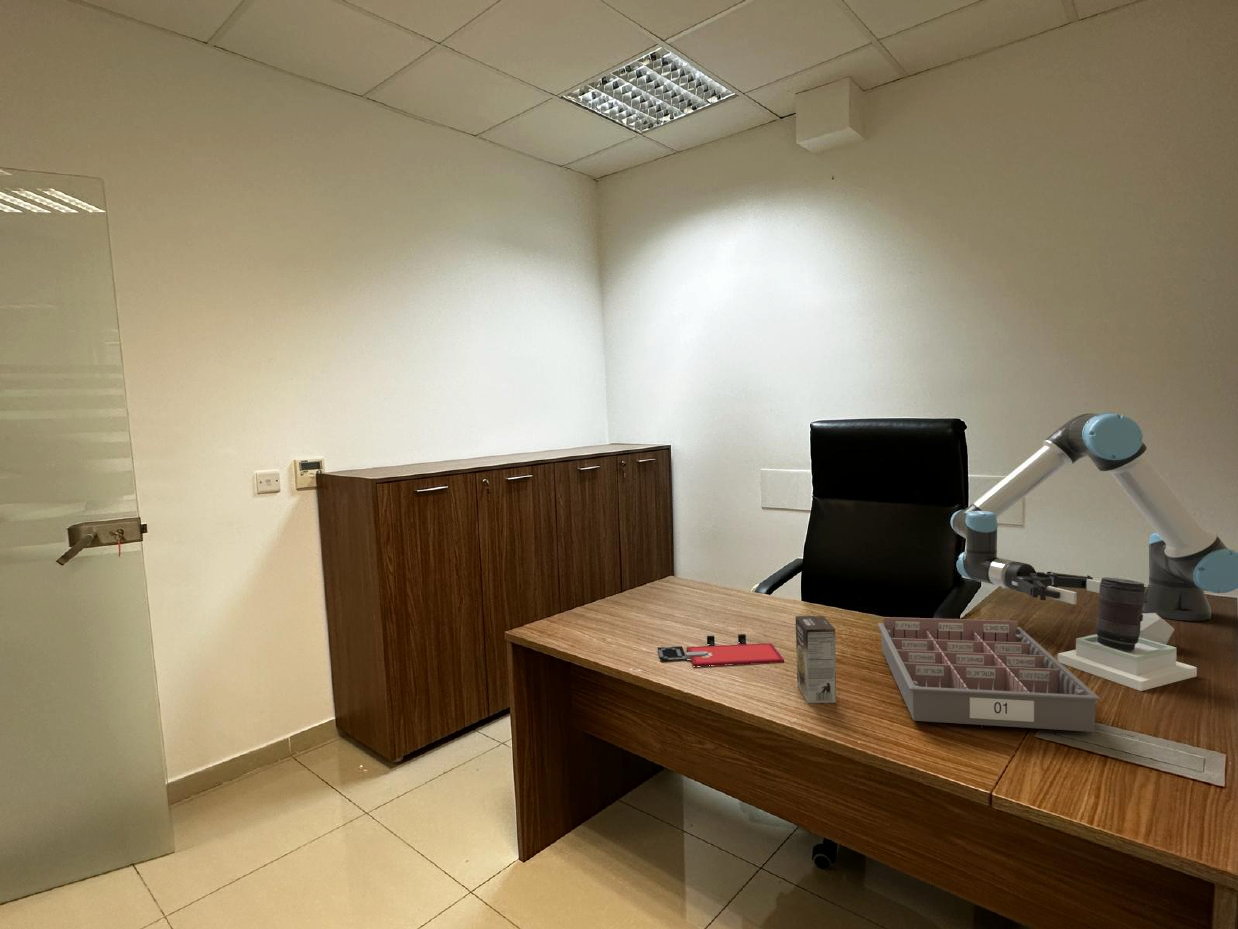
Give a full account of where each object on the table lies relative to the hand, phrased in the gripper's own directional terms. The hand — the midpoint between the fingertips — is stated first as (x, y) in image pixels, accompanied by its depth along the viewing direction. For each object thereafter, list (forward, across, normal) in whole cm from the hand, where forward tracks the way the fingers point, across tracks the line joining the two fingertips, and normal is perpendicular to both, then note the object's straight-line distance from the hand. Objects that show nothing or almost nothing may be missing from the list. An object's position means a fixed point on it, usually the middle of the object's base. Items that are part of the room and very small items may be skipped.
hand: (1095, 594), depth 153 cm
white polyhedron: (0, -20, -16) cm, 26 cm away
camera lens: (+6, +2, -10) cm, 12 cm away
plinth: (+6, 0, -16) cm, 17 cm away
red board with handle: (-42, +77, -16) cm, 90 cm away
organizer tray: (0, +39, -16) cm, 42 cm away
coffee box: (-12, +70, -16) cm, 73 cm away
